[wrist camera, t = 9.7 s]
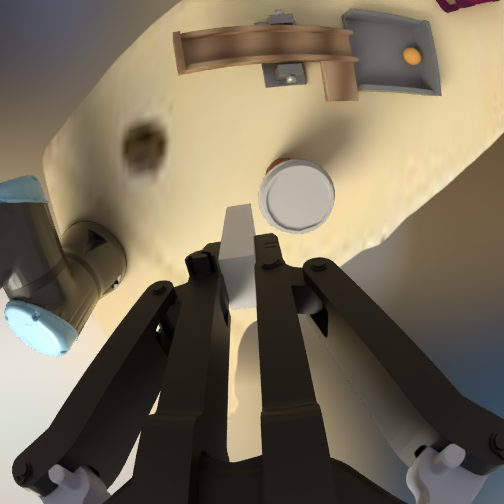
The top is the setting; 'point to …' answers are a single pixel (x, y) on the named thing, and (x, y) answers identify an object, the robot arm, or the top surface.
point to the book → (459, 4)
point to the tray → (392, 53)
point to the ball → (412, 56)
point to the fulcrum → (282, 71)
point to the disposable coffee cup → (296, 195)
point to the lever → (272, 52)
